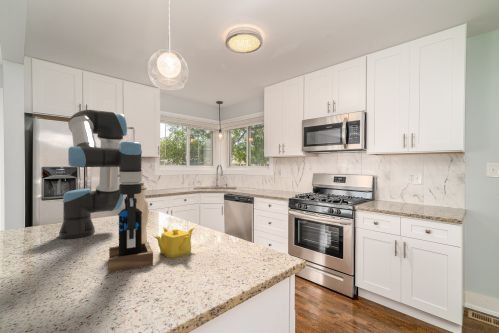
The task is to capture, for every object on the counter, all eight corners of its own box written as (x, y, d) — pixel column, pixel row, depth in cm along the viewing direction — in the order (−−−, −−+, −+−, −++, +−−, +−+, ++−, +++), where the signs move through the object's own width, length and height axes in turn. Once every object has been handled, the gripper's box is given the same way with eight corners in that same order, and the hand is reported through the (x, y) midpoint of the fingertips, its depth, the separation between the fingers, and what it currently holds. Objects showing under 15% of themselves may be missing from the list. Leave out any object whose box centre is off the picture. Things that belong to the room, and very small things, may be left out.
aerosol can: (123, 251, 95) (123, 200, 95) (145, 250, 96) (145, 200, 95) (113, 259, 87) (113, 203, 87) (137, 259, 87) (137, 203, 87)
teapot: (163, 246, 108) (163, 225, 108) (195, 246, 109) (195, 225, 109) (151, 259, 93) (151, 234, 93) (189, 259, 94) (189, 234, 94)
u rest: (109, 259, 94) (109, 247, 94) (148, 252, 101) (148, 241, 101) (108, 273, 82) (108, 259, 82) (153, 265, 88) (153, 252, 88)
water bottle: (138, 247, 106) (138, 184, 106) (120, 246, 108) (120, 183, 108) (152, 240, 116) (152, 182, 116) (136, 239, 118) (136, 182, 118)
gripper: (118, 181, 98) (118, 237, 99) (119, 186, 80) (119, 254, 80) (138, 181, 102) (138, 234, 102) (144, 185, 84) (144, 250, 84)
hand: (130, 243), depth 91 cm, fingers closed on aerosol can, 8 cm apart
